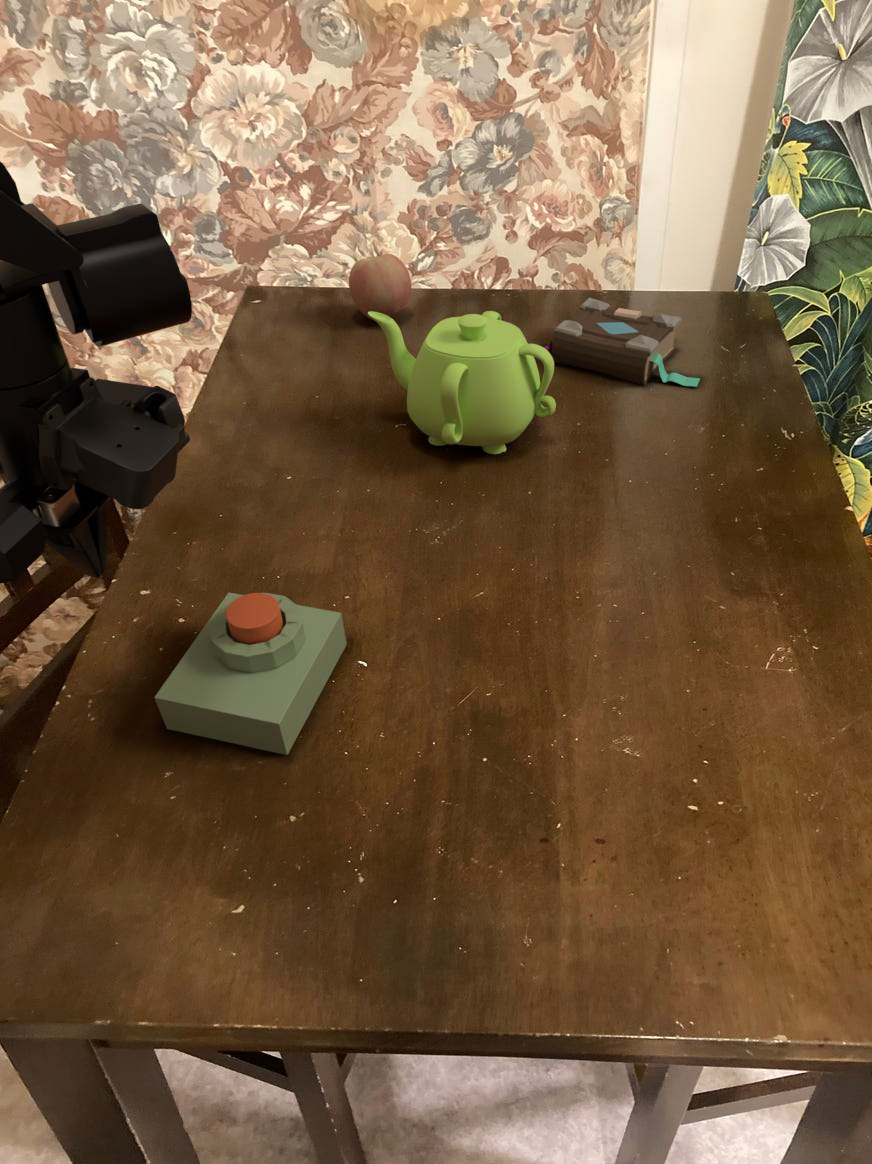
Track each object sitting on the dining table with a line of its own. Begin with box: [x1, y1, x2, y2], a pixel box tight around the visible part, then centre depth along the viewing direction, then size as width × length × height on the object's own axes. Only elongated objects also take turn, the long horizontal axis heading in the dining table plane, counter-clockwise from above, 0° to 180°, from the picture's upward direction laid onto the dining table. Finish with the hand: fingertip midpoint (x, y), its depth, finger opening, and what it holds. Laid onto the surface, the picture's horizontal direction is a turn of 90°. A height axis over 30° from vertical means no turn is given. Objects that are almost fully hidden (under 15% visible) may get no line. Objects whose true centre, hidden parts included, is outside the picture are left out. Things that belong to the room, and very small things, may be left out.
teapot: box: [368, 310, 557, 455], centre depth 93 cm, size 16×14×13 cm
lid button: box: [226, 592, 283, 645], centre depth 68 cm, size 4×4×2 cm
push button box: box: [153, 592, 347, 756], centre depth 69 cm, size 12×10×6 cm
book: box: [543, 297, 701, 388], centre depth 107 cm, size 20×12×5 cm, turn 60°
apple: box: [348, 253, 412, 321], centre depth 115 cm, size 8×8×8 cm
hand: (96, 573), depth 63 cm, fingers closed
